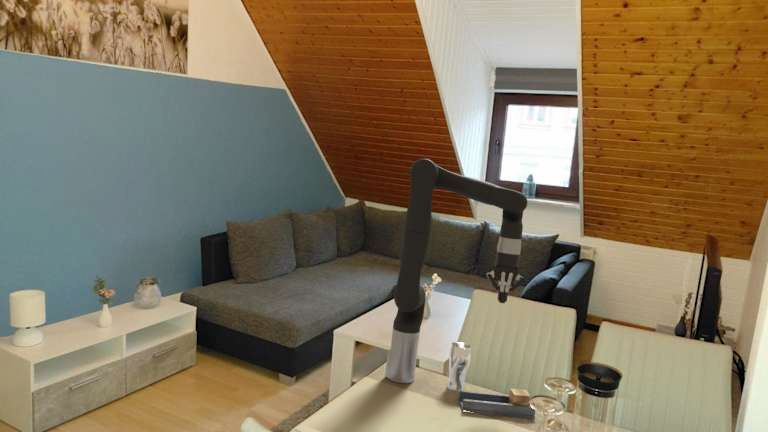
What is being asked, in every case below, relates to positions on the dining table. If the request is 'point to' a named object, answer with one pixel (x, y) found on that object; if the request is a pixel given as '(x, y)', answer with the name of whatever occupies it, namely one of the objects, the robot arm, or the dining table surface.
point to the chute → (493, 405)
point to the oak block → (519, 397)
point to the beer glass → (458, 365)
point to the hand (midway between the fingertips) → (501, 302)
